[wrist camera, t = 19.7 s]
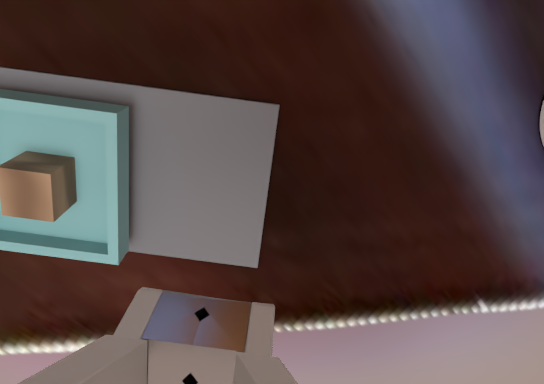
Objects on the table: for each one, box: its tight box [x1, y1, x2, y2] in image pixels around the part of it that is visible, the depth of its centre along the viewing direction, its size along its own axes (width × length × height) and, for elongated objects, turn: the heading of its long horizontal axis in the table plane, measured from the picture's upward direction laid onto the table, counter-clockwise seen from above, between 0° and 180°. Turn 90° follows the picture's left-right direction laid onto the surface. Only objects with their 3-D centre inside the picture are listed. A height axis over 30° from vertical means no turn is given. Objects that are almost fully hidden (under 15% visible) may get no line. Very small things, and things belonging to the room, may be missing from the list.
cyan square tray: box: [0, 89, 129, 265], centre depth 42 cm, size 14×15×5 cm
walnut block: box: [0, 151, 77, 222], centre depth 39 cm, size 4×4×4 cm
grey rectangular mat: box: [0, 67, 280, 268], centre depth 44 cm, size 32×18×1 cm, turn 83°
